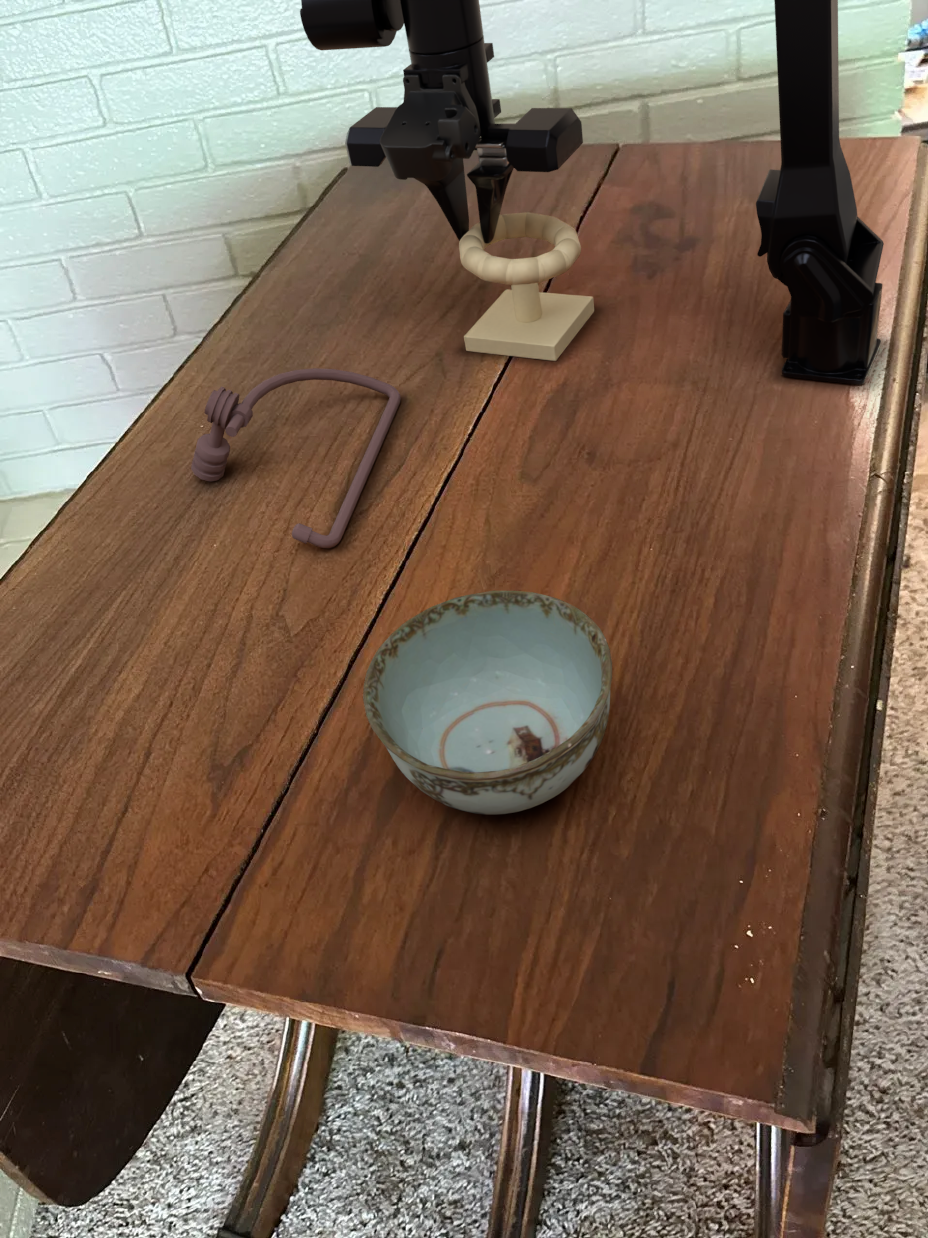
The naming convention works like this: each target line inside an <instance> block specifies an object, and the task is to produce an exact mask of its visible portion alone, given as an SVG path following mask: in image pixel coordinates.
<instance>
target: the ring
mask: <svg viewBox="0 0 928 1238" xmlns="http://www.w3.org/2000/svg"><path fill="white" fill-rule="evenodd" d="M520 238H529V239H536V240H542V241H546V242H548V243H550V244H551V245H552V246H554V247H553V249H552V250H550V251H547V252H545V253H542V254H540V255H537V256H534V257H521V258H508V257H507V258H506V257H502V256H496V255H492V254H490V253H488V252H487V251H485V249H486V248H487V247H488V246H491V245H492V244H495V243H498V242H501V241H503V240H509V239H510V240H511V239H520ZM458 242H459V243H458V250H459V258H460V263H461V265H462V267H463V268H464V269H465V270H467V271H468V272H469V273H471V274H472V275H474V276H476V277H477V278H478V279H480V280H482V281H485V282H490V283H496V284H501V285H506V286H511V285H521V284H532V283H538V284H540V283H543V282H546V281H548V280H550V279H553V278H555V277H558V276H561V275H563V274H565V273H567V272H568V271H569V270H570V268H571V267H572V266H573V265H574V263H575V262H576V261H577V260H578V259H579V257H580V255H581V252H582V245H581V242H580V239H579V236H578V232H577V230H576V229H575V228H574V227H573V226H571V224H568V223H566V222H565V221H563V220H561V219H559V218H558V217H556V216H553V215H548V214H543V213H542V214H541V213H536V212H529V211H527V212H515V213H504V214H500V215H499V219H498V223H497V227H496V231H495V234H494V238H493V240H492V241H491V242H490V243H489V244H485V243H484V240H483V236H482V232H481V228H480V221H479V222H477V223H475V224H473V226H472V227H471V228H469V231H468V232H467V233H466V234H465V235H464V236H463V237H462V238H461V240H460V241H458Z"/></svg>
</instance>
